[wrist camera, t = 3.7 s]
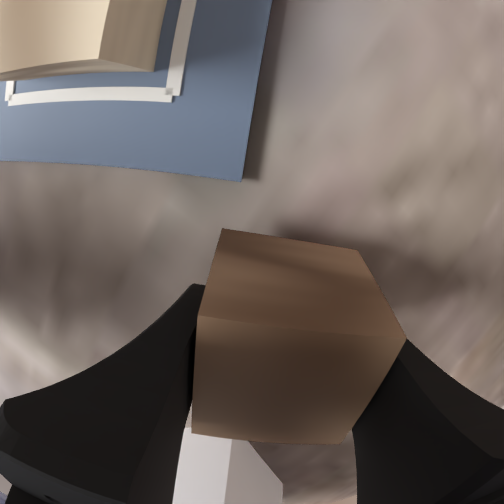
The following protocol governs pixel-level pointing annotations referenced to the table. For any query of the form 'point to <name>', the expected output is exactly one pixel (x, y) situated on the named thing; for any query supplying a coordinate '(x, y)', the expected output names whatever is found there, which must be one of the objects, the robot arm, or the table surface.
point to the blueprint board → (151, 100)
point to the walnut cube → (289, 341)
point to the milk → (223, 473)
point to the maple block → (78, 37)
